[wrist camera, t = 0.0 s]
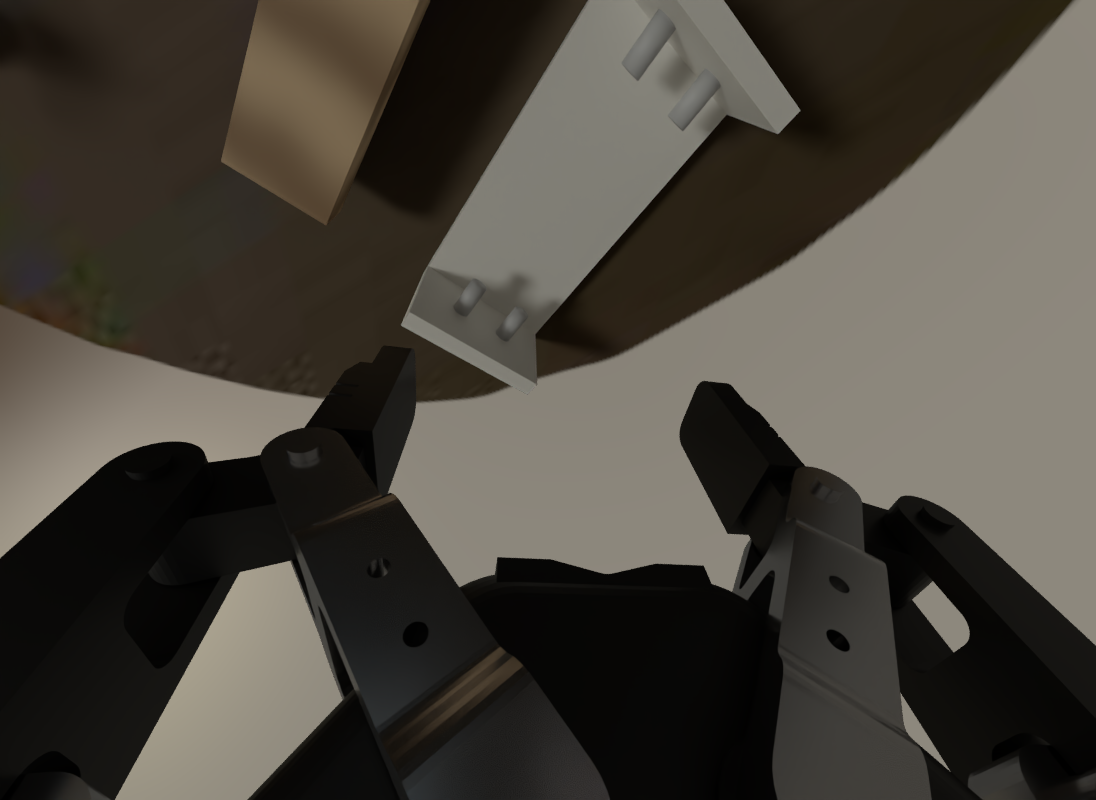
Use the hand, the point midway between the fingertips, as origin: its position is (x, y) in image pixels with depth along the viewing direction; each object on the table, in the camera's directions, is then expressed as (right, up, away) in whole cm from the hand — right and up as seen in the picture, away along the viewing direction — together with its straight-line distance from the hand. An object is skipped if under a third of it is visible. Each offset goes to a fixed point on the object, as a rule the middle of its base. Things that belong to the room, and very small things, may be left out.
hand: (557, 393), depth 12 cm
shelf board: (-10, +19, +9) cm, 23 cm away
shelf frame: (+1, +14, +17) cm, 22 cm away
